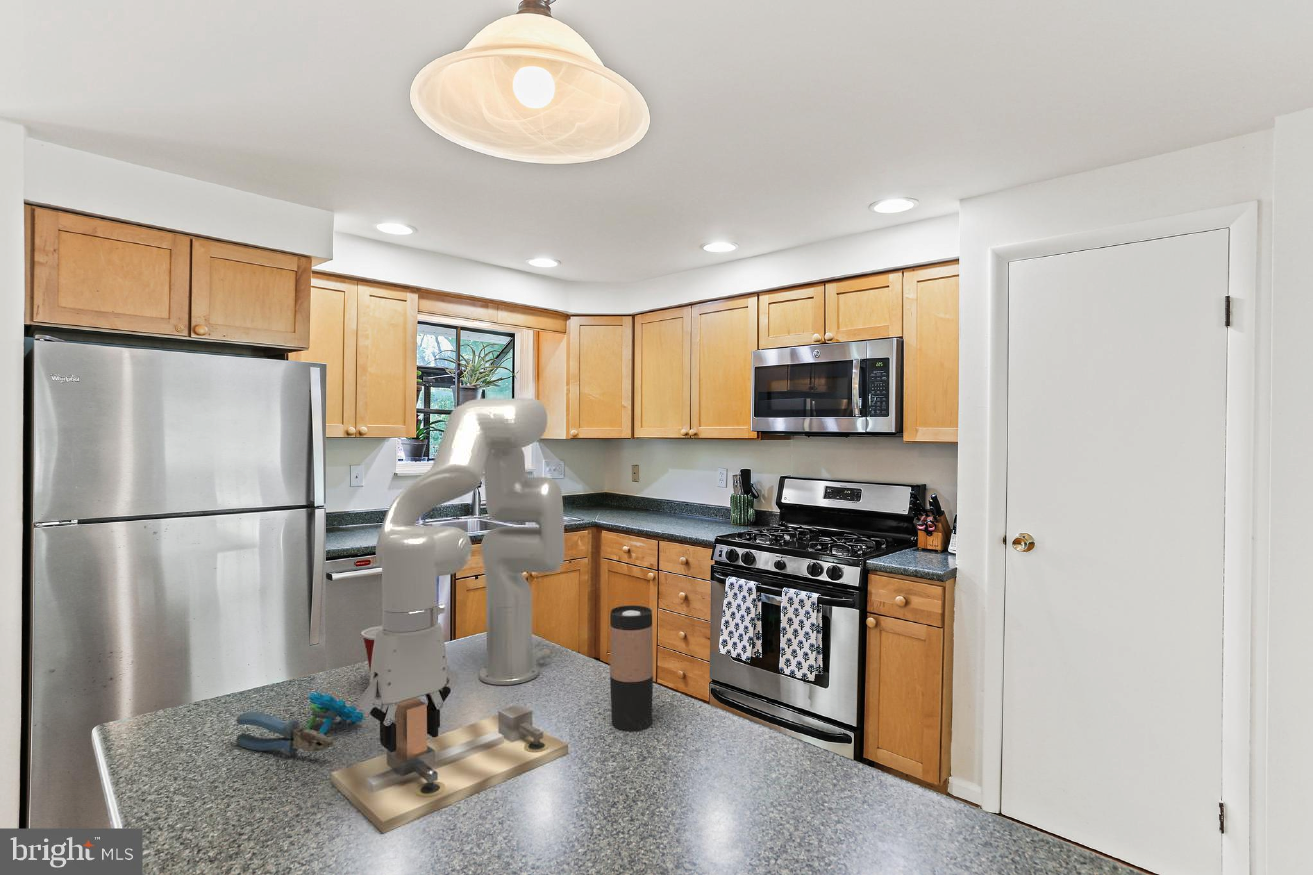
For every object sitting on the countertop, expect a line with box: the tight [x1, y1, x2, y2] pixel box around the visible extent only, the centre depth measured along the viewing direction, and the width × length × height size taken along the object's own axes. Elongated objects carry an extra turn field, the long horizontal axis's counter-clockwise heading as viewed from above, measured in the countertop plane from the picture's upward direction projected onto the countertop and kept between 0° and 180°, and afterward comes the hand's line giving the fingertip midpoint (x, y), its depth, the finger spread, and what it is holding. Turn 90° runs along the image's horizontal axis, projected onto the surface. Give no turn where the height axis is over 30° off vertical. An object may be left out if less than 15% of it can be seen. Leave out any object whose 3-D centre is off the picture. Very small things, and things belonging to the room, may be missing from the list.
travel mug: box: [609, 604, 654, 732], centre depth 119 cm, size 8×8×20 cm
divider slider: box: [386, 697, 438, 787], centre depth 96 cm, size 5×10×10 cm, turn 45°
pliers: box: [235, 711, 334, 756], centre depth 108 cm, size 20×2×6 cm, turn 69°
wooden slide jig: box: [330, 703, 569, 834], centre depth 103 cm, size 30×18×6 cm, turn 135°
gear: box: [304, 691, 365, 735], centre depth 116 cm, size 11×6×10 cm
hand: (410, 740), depth 98 cm, fingers open, 5 cm apart
